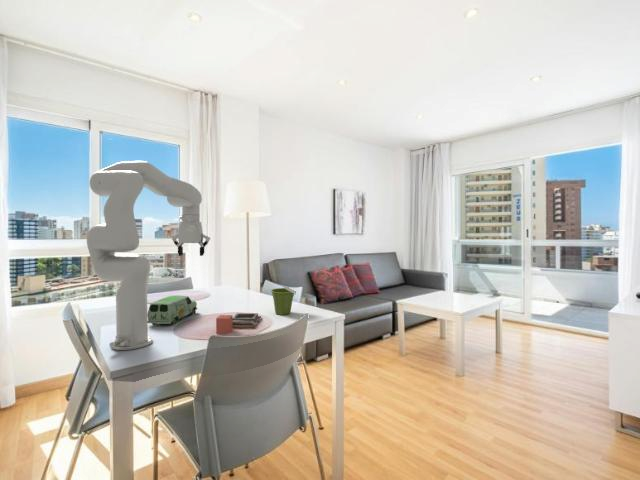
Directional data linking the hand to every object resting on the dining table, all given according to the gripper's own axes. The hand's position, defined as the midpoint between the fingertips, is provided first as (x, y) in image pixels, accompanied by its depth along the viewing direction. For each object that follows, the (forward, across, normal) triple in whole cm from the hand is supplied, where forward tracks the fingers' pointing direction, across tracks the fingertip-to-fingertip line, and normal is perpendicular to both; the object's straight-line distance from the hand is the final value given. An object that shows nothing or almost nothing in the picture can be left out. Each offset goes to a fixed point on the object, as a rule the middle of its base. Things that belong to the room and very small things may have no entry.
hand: (191, 255), depth 154 cm
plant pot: (+28, +42, +4) cm, 51 cm away
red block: (+28, +22, -24) cm, 43 cm away
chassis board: (+28, +27, -13) cm, 41 cm away
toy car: (+29, -6, -6) cm, 30 cm away
